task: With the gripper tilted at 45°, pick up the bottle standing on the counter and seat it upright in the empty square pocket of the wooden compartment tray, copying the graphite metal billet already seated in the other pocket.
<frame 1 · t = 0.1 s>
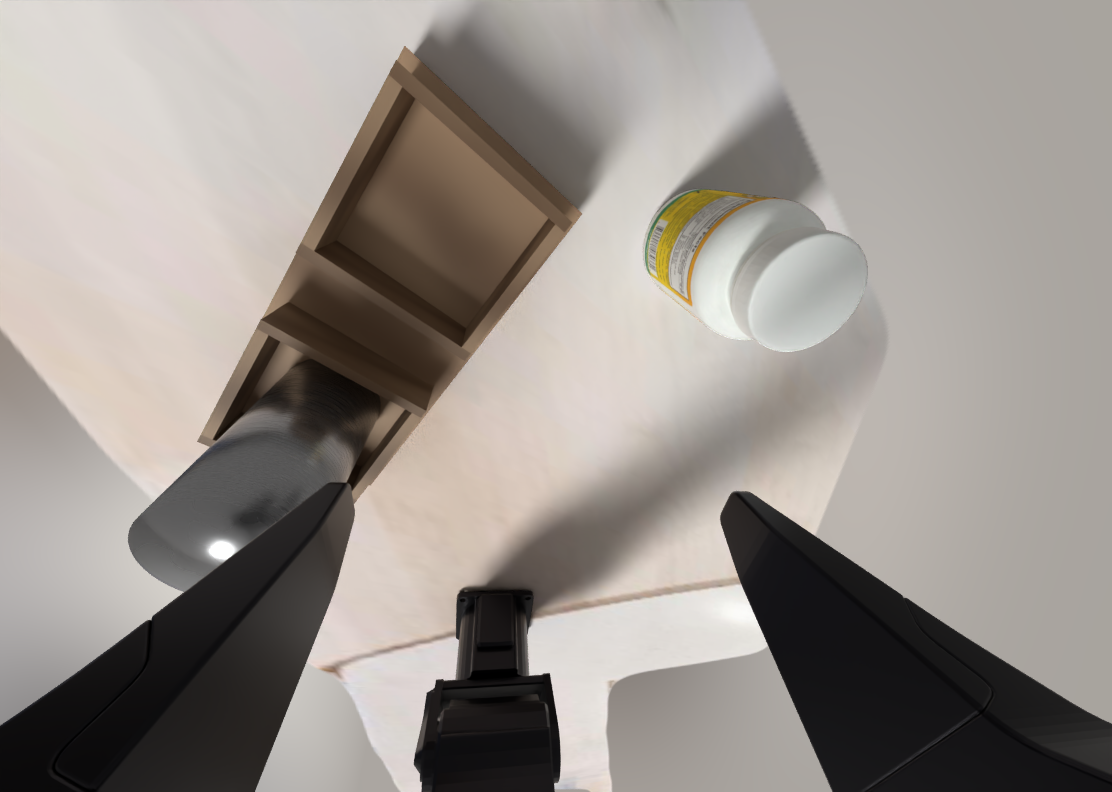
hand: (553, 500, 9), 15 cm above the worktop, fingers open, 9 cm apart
graphite billet: (332, 400, 22), point 1 cm above the worktop, touching wooden compartment tray
wooden compartment tray: (390, 312, 21), on the worktop
supplement bottle: (688, 243, 21), on the worktop
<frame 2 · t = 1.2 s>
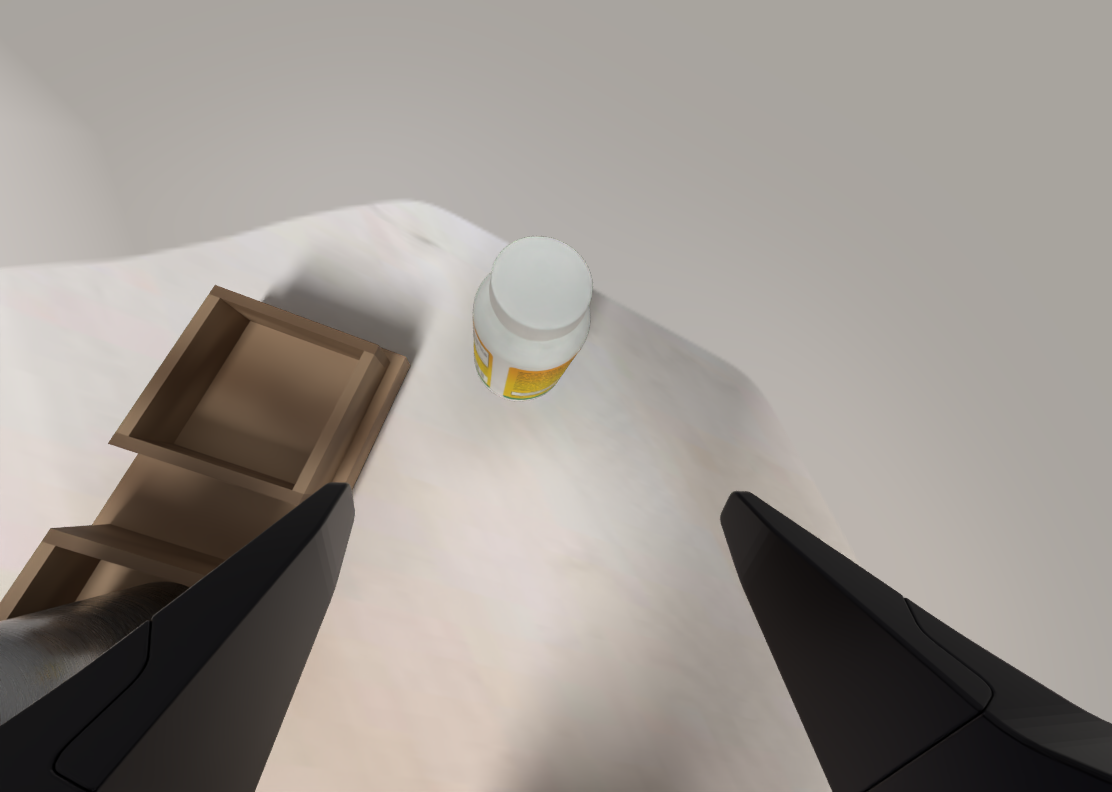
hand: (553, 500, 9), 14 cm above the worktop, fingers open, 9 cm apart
graphite billet: (146, 645, 17), point 1 cm above the worktop, touching wooden compartment tray
wooden compartment tray: (239, 512, 20), on the worktop
supplement bottle: (519, 362, 24), on the worktop
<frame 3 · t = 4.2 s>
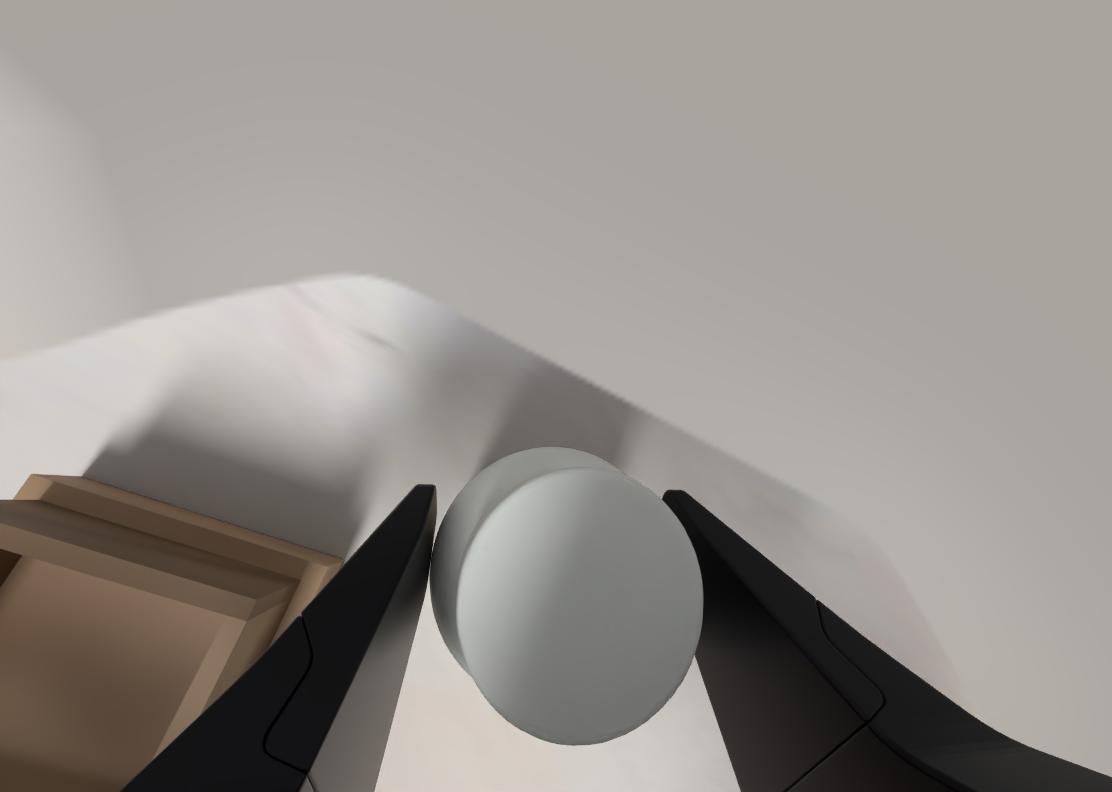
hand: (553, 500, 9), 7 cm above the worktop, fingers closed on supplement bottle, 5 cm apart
supplement bottle: (522, 535, 15), on the worktop, touching gripper
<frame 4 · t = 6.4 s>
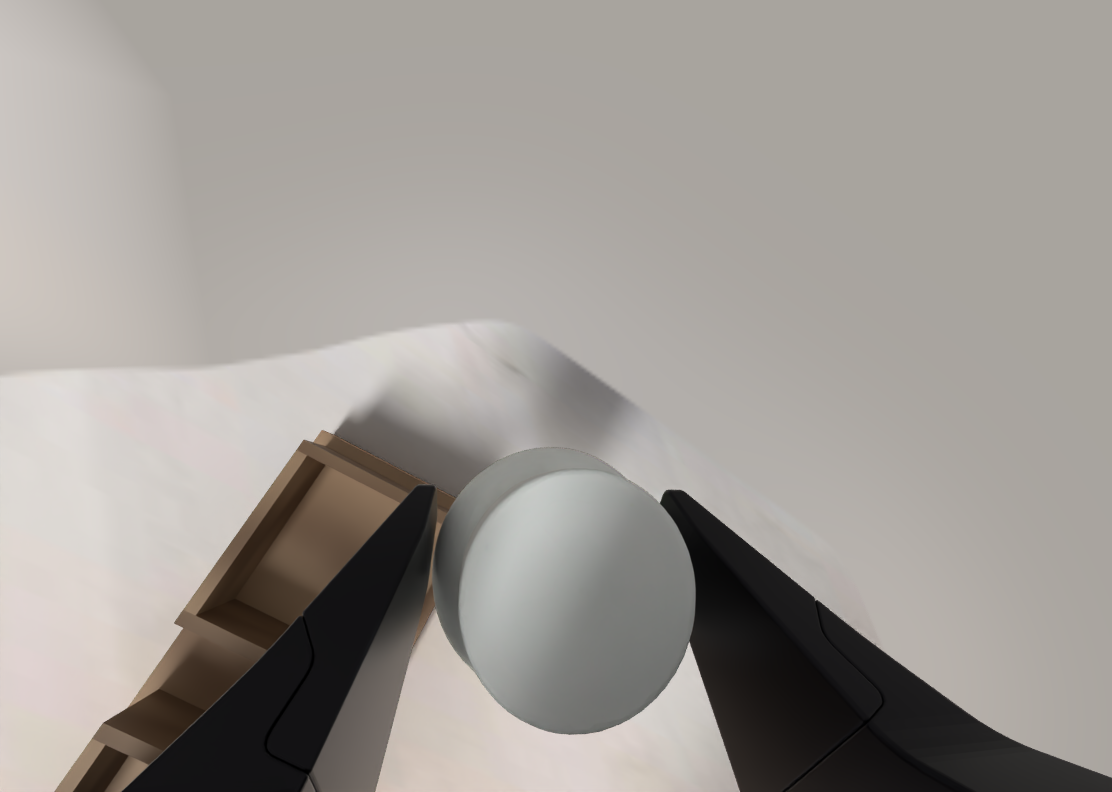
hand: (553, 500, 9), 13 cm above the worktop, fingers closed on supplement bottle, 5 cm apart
wooden compartment tray: (289, 670, 18), on the worktop
supplement bottle: (522, 533, 16), point 6 cm above the worktop, touching gripper
when the fingers open (9 cm above the worktop, at t = 8.6 s): supplement bottle stays where it is, resting on wooden compartment tray.
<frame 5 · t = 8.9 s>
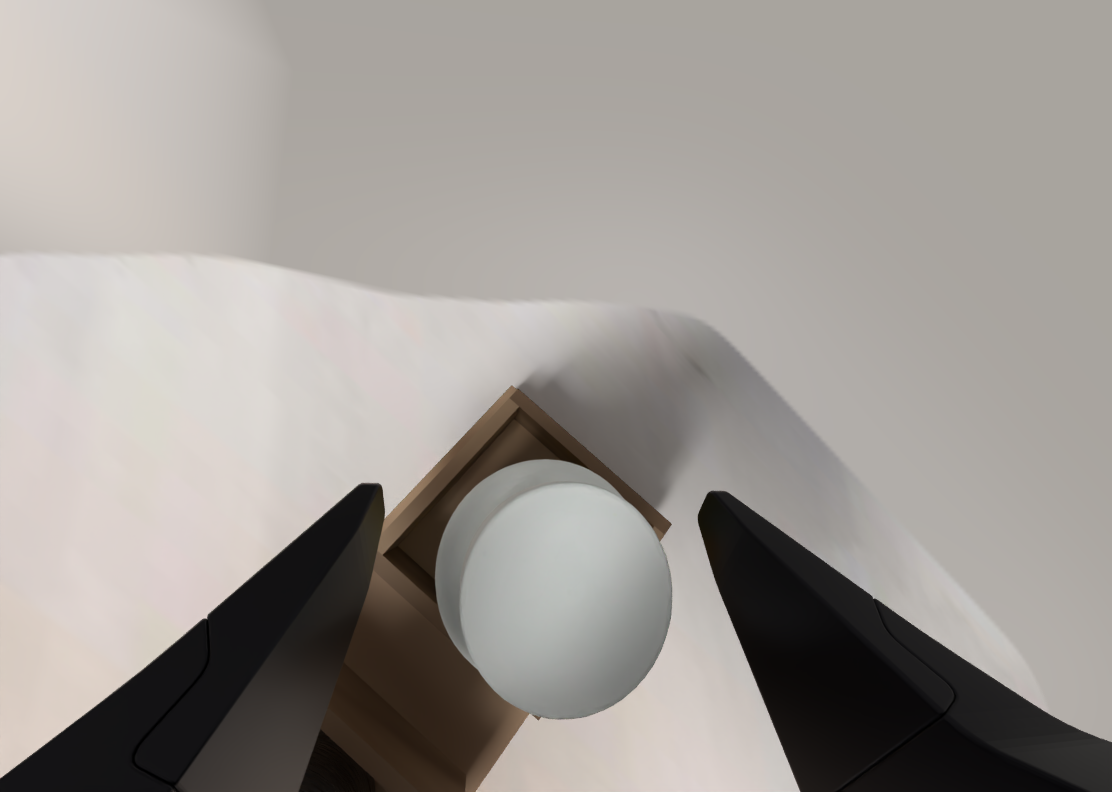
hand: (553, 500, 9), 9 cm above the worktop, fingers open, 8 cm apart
wooden compartment tray: (425, 642, 16), on the worktop
supplement bottle: (519, 537, 16), point 1 cm above the worktop, touching wooden compartment tray
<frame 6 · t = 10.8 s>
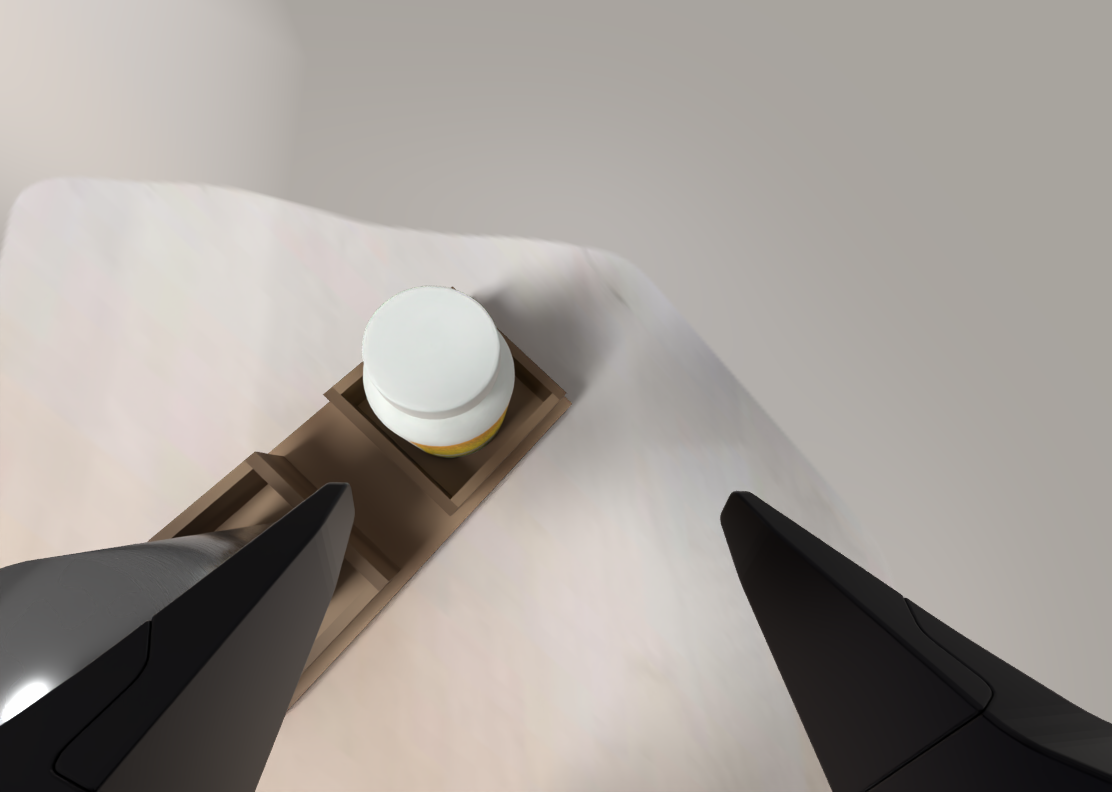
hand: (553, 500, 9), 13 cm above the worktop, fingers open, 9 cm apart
graphite billet: (271, 580, 18), point 1 cm above the worktop, touching wooden compartment tray
wooden compartment tray: (378, 485, 21), on the worktop
supplement bottle: (454, 409, 21), point 1 cm above the worktop, touching wooden compartment tray
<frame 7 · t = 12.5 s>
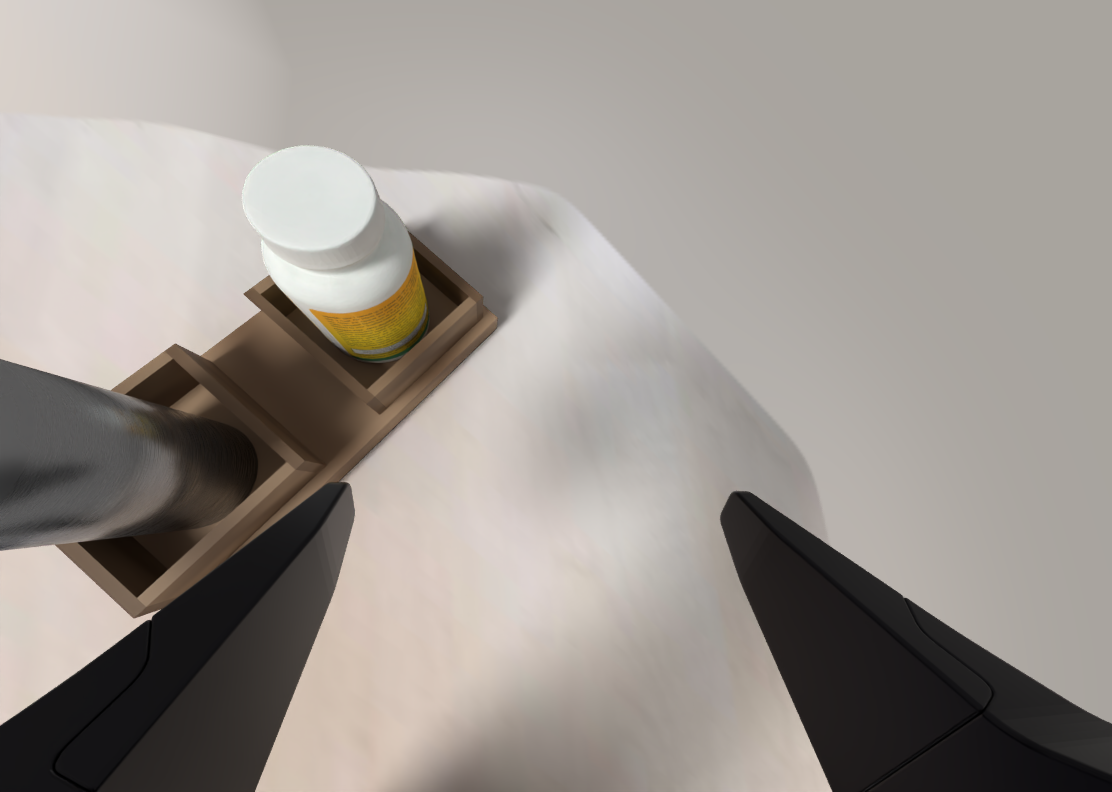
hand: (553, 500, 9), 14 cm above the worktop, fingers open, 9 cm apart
graphite billet: (198, 473, 19), point 1 cm above the worktop, touching wooden compartment tray
wooden compartment tray: (309, 396, 22), on the worktop
supplement bottle: (382, 322, 22), point 1 cm above the worktop, touching wooden compartment tray
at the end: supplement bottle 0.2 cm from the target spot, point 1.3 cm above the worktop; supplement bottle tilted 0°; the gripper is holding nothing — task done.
